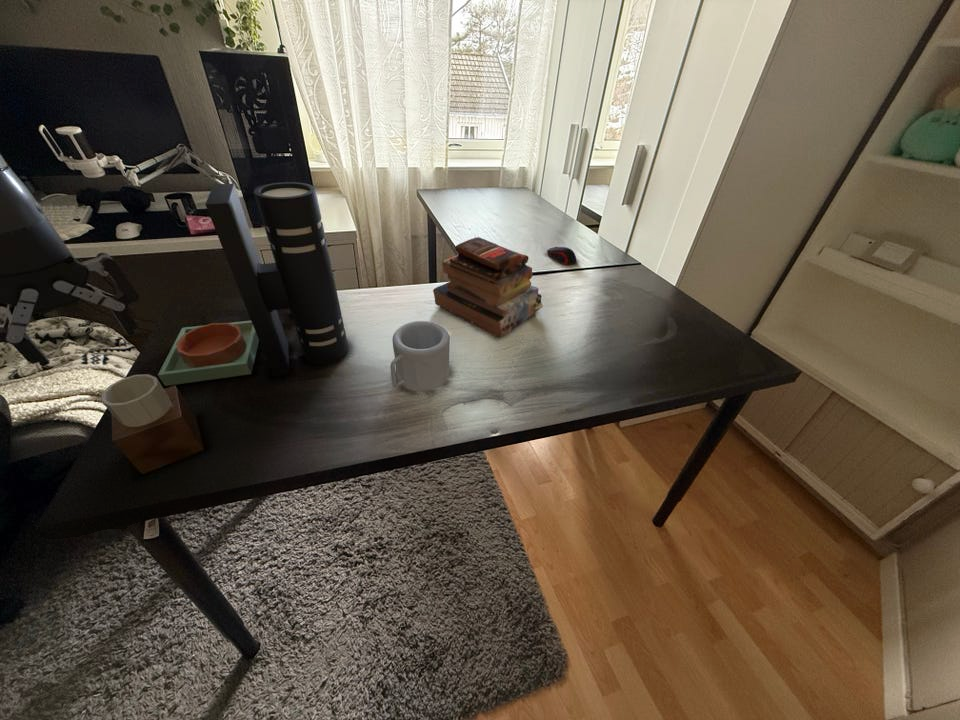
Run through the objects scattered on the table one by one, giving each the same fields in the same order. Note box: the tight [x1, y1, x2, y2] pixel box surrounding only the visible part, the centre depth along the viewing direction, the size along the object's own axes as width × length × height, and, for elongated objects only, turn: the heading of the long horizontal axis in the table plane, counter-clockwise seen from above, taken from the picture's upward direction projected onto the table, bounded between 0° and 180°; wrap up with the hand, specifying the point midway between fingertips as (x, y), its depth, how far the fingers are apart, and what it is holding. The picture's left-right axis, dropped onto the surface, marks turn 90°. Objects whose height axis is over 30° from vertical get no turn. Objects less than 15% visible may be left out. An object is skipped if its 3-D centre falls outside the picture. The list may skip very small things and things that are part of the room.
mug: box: [390, 320, 451, 392], centre depth 73 cm, size 14×11×10 cm
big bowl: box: [176, 322, 246, 368], centre depth 76 cm, size 11×11×4 cm
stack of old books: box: [432, 236, 544, 339], centre depth 92 cm, size 23×18×17 cm
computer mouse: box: [546, 246, 577, 265], centre depth 125 cm, size 6×11×4 cm, turn 32°
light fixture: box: [204, 181, 350, 378], centre depth 69 cm, size 10×15×33 cm
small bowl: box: [100, 373, 171, 427], centre depth 54 cm, size 6×6×4 cm
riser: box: [111, 385, 205, 475], centre depth 58 cm, size 8×8×8 cm
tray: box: [157, 320, 260, 387], centre depth 77 cm, size 16×15×3 cm
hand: (89, 346), depth 48 cm, fingers open, 8 cm apart
